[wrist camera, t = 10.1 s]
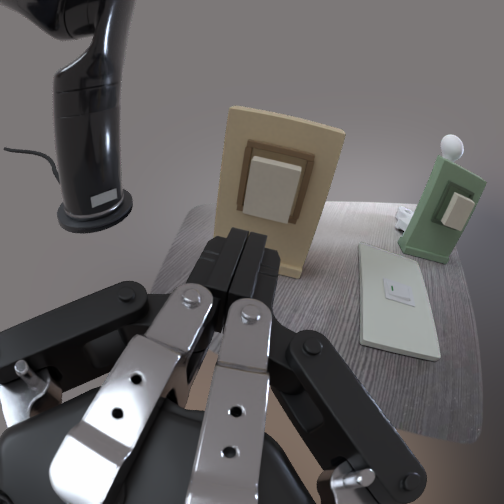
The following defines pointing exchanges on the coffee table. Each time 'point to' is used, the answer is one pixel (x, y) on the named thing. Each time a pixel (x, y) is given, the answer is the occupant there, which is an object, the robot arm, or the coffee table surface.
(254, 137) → the near plate
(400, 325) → the light switch
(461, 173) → the far plate
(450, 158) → the joystick
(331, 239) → the coffee table surface
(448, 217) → the far switch
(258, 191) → the near switch
